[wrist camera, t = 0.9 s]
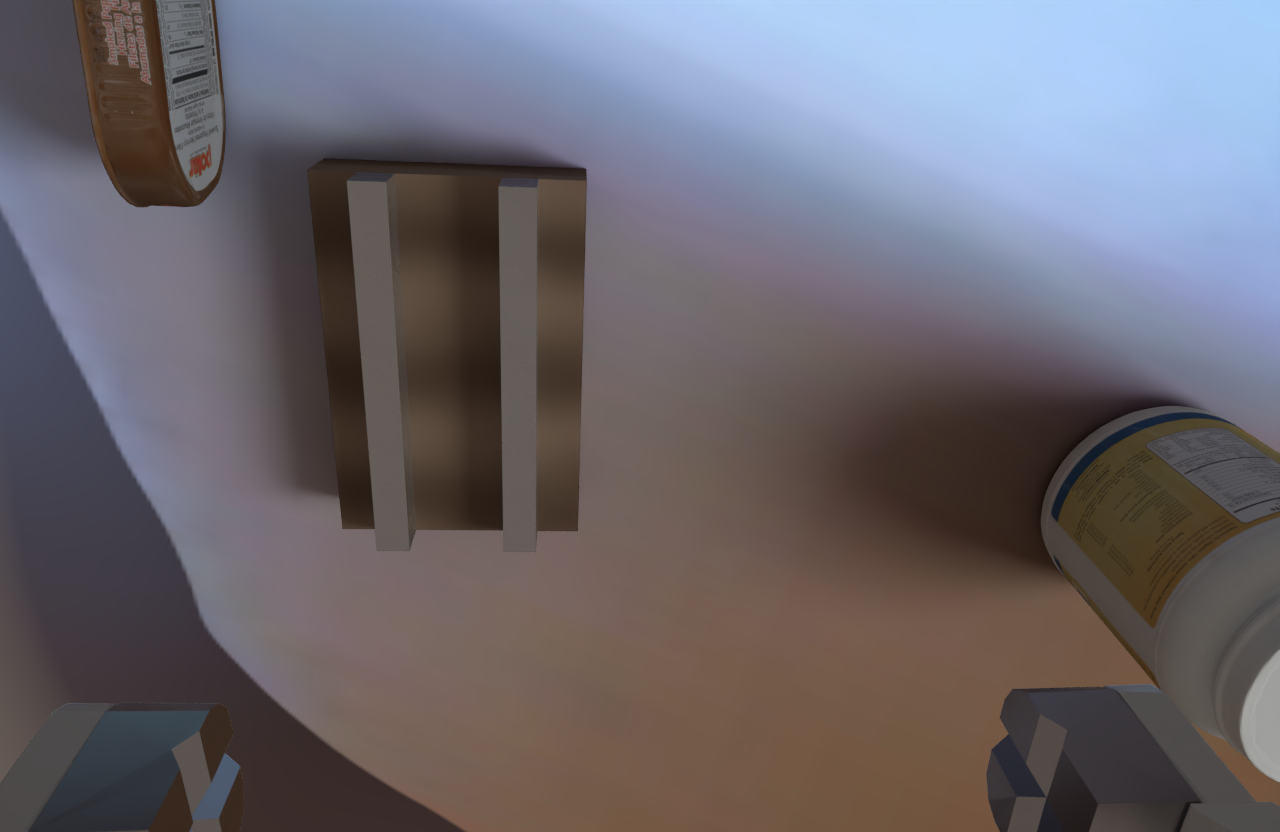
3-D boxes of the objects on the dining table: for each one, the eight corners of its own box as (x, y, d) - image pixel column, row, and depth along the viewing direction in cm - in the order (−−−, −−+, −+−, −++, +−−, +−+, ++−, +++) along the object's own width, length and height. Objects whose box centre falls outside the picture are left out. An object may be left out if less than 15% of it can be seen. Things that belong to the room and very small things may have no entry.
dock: (324, 158, 42) (294, 178, 38) (585, 169, 43) (587, 189, 39) (355, 499, 50) (333, 550, 45) (577, 502, 51) (577, 552, 46)
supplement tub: (1246, 547, 55) (1505, 762, 40) (1045, 605, 56) (1222, 838, 41) (1240, 367, 50) (1534, 534, 35) (1019, 434, 51) (1210, 626, 36)
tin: (128, -201, 36) (9, -252, 29) (211, -193, 37) (115, -241, 29) (177, 184, 43) (91, 227, 35) (248, 189, 43) (177, 232, 35)
